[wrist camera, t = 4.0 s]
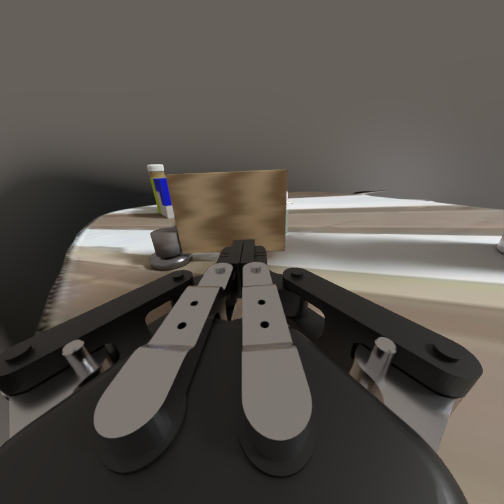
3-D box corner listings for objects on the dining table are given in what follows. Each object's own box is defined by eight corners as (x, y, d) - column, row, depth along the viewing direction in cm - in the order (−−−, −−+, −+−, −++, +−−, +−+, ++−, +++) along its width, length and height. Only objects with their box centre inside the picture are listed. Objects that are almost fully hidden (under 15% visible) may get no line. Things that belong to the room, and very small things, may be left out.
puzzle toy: (168, 218, 50) (159, 179, 46) (158, 213, 57) (150, 178, 53) (203, 212, 56) (197, 176, 51) (190, 207, 63) (184, 175, 59)
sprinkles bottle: (160, 207, 65) (149, 164, 59) (173, 206, 65) (164, 164, 60) (155, 210, 61) (144, 164, 55) (170, 209, 61) (160, 164, 56)
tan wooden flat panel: (151, 257, 25) (126, 177, 21) (163, 247, 28) (144, 175, 24) (285, 254, 24) (289, 169, 20) (282, 243, 27) (284, 169, 23)
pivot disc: (197, 251, 29) (196, 246, 29) (184, 270, 24) (183, 263, 24) (162, 252, 30) (160, 247, 29) (142, 271, 24) (140, 264, 24)
